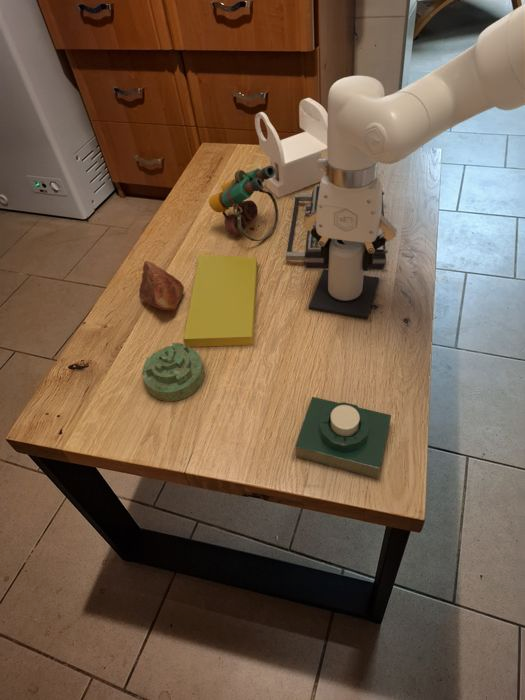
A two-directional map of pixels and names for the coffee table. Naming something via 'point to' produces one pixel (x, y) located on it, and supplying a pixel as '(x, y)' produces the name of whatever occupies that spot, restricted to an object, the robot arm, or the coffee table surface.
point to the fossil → (160, 287)
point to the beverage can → (345, 269)
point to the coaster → (347, 308)
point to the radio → (312, 247)
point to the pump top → (344, 420)
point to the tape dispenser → (295, 149)
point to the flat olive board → (222, 302)
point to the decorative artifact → (173, 372)
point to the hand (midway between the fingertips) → (346, 262)
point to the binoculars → (242, 200)
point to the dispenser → (343, 439)
